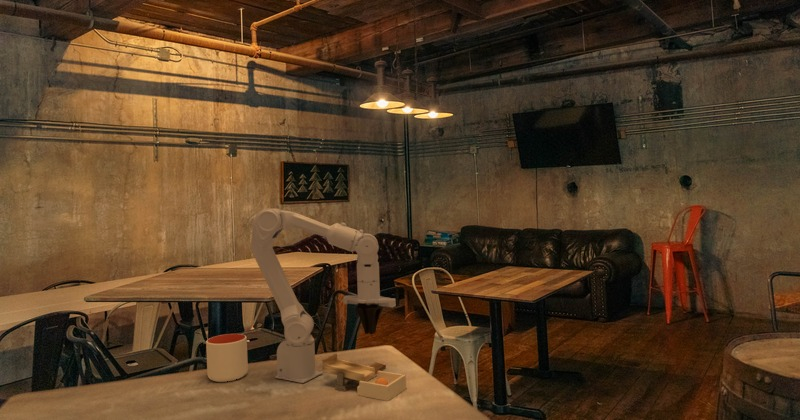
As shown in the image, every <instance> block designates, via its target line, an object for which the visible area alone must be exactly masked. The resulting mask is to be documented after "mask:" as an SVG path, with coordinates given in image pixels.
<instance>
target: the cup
mask: <svg viewBox="0 0 800 420" xmlns="http://www.w3.org/2000/svg"><path fill="white" fill-rule="evenodd" d="M247 343H248V340H247V336H246V335H245V334H243V333H242V334H241V333H228V334H227V333H225V334H220V335H215V336H212V337H210V338H207V340H206V341H205V345H206V346H205V348H206V371H207V372H206V373H207V374H206V375H207V377H208V379H210V380H211V381H212V382H218V383H224V382H225V383H226V382H227V381H228V382H231V381H232V382H233V381H237V380H239V379H241V378H244V377H245V376H246V375H247V373H248V371H249V365H248V364H249V363H248V362H249V361H248V360H249V359H248V344H247ZM236 379H237V380H236ZM228 382H227V383H228Z"/></svg>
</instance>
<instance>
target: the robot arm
mask: <svg viewBox="0 0 800 420" xmlns="http://www.w3.org/2000/svg"><path fill="white" fill-rule="evenodd" d="M251 228H252V230H251V231H252V232H251V240H250V251H251V253H252V256H253V257H254V259H255V261H256V263H257V266H258V267H259V269H260V272H261V274H262V276H263V278H264V280H265V282H266V285H267V286H268V289H269V291H270V292H271V294H272V295H271V296H272V297H273V299H274V301H275V303H276V305H277V307H278V310H279V311H280V317H281V323H282V325H283V327H284V329H283V335H284V338H285V340H283V341H281V342H280V343H279V345H278V347H277V349H276V370H277V375H275V377H274V378H276V379H279V380H285V381H291V382H294V383H295V382H296V383H299V384H300V383H301V384H304V383H307V382H308V381H311V380H312V379H314V378H317V377H319V376H320V375H323V374H324V373H323V372H324V371H322V370H317V369H316V352H315V351H316V350H315V349H316V348H315V338H314V337H313V335H312V334H311V333H312V331H313V329H314V327H315V322H314V321H315V320H314V319H313V317H312V316H311V315H310V314H309V313H308V312H307V311H306V310H305V308H304V306H303V305H302V304H301V303H300V302H299V300H298V298H297V295H295V293H294V289H293V288H292V286H291V284H290V282H289V280H288V278H287V276H286V273H285V271H284V269H283V267H282V265H281V263H280V260H279V258H278V256H277V254H276V252H275V251H274V244H275V242H276V240H277V238H278V235H280V234H281V232H282V231H283V230H290V229H291V230H292V229H298V230H302V231H305V232H307V233H311V234H314V235H317V236H321V237H323V238H325V239H326V241H327V243H328V244H329V245H331V246H335V247H337V248H340V249H342V250H345V251H347V252H348V251H349V252H356V254H357V263H356V278H357V279H356V281H357V282H356V283H357V295H345V296H343V299H342V300H343V305H349V304H350V305H356V307H354V309H355V312H356V314H357V316H358V317H359V320H360V322H361V324H362V327H363V331H364V334H366V335H367V334H369V335H374V334H376V331H377V325H378V322H379V318H380V316H381V313H382V311H383V310H384V307H387V308H392V309H393V308H394V307H396V305H397V304H396V298H391V297H385V296H382V295H381V290H380V287H381V286H380V263H379V261H378V260H379V255H378V252H379V249H380V245H379V242H378V239H377V238H376V237H375V235H374V234H371V233H369V232H364V230H363V229H360V228H359V230H358V229H355V228H352V227H349V226H347V224H346V223H345V222H340V223H339V222H336V223H334V224H332V225H329V224H326V223H323V222H321V221H318V220H315V219H314V218H311V217H308V216H306V215H302V214H300V213H298V212H295V211H290V210H282V209H280V208H278V207H273V208H272V207H271V208H264V209H261V210H260V211H258V212H257V214H256V216H255V218H254V220H253V221H252V223H251Z"/></svg>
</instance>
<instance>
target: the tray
mask: <svg viewBox="0 0 800 420" xmlns="http://www.w3.org/2000/svg"><path fill="white" fill-rule="evenodd" d="M379 378H385V379H386V380H387V381H388V385H382V384H376V381H377V379H379ZM406 378H407V377H406V374H400V373H395V372H390V371H385V370H383V371H377V374H376V375H374V376H373V377H371V378H369V379H367V380H366V381H359V384H358V386H357V387H356V389H357V391H356V393H357V396H361V397H367V398H369V399H377V400H381V401H386V402H388V401H390V400H392V399H393V398H395V397H396V396H397V395H398V394H400V393H402V392H403V391H405V390H406V389H407V379H406Z"/></svg>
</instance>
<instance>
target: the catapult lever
mask: <svg viewBox="0 0 800 420" xmlns="http://www.w3.org/2000/svg"><path fill="white" fill-rule="evenodd" d="M321 363H322V366H321V367H322V369H321V371H322V372H324V373H328V374H331V375H335V376H337V373H338V372H340V373H344V377H346V378H350V379H354V380H357V381H365V382H366V381H368V380H370V379H371V378H373V377H375V376H377V371H385V370H386V369H387V365H386V364H384V363H379V362H373V363H372V364H370V365H369V366H368V365H364V364H361V363H357V362H353V361H349V360H348V361H347V360H344V359H341V358H338V353H336V352H335V353H332V354H331V355H329V356H326V357H325V358H322V362H321Z"/></svg>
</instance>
